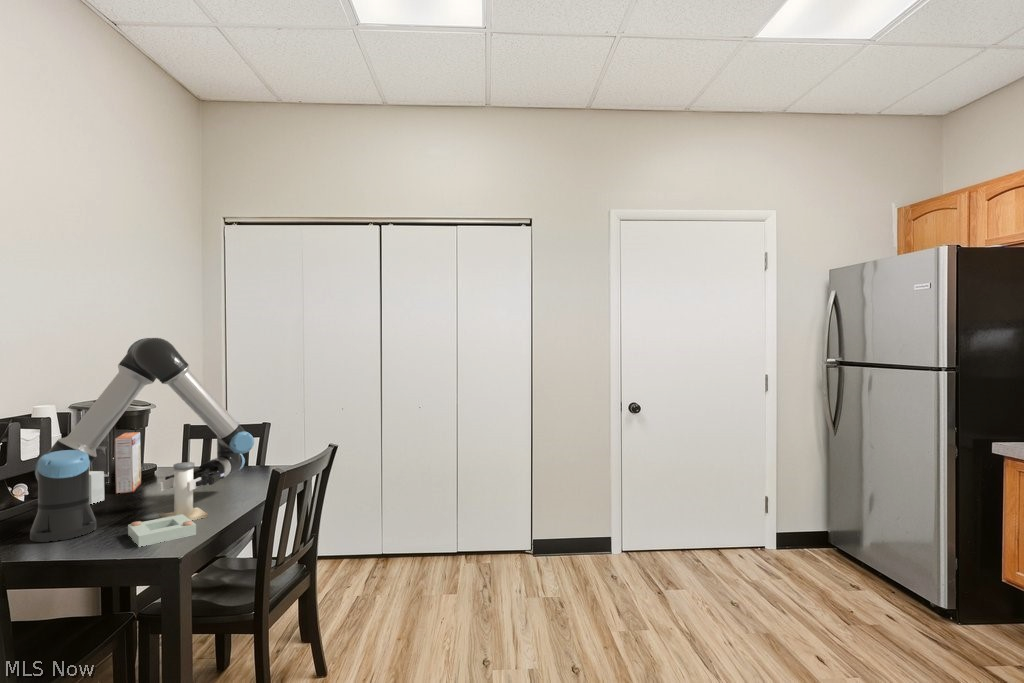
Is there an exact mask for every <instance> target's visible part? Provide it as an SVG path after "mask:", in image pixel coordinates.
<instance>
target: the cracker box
mask: <svg viewBox="0 0 1024 683" xmlns="http://www.w3.org/2000/svg"><path fill="white" fill-rule="evenodd" d="M141 454H142V453H141V432H140V431H136V432H124V433H122V434H121V435H119V436H117V437H116V438H114V458H115V459H114V461H115V462H114V463H115V464H114V465H115V470H114V471H115V494H118V493H120V494H127V493H134V492H135V491H136V489H137V488H139V486H140V485H141V484H142V468H141V467H142V464H141V461H142V460H141V458H142V457H141V456H142V455H141Z"/></svg>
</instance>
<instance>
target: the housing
mask: <svg viewBox="0 0 1024 683" xmlns="http://www.w3.org/2000/svg"><path fill="white" fill-rule="evenodd" d="M127 532H128V533H127V535H128V537H129V536H130V537H131V538H132V539H131V538H130V537H129V538H130V539H131V541H132V542H133V543H134V544H135V543H136V544H137V545H138V546H137V545H136V544H135V545H136V546H137V547H138V548H142V547H141V546H143V547H146V545H147V546H150V545H151V546H152V545H156V544H159V543H160V542H161V543H165V542H169V541H170V542H171V541H174V540H178V539H183V538H187V537H192V536H196V535H197V523H195V522H194V520H193V521H191V520H190V519H188V518H187V517H186V516H184V515H183V514H181V515H176V516H170V517H165V518H156V519H150V520H146V521H141V520H138V521H133V522H131V523H130V524H128V525H127ZM164 541H165V542H164Z"/></svg>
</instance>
